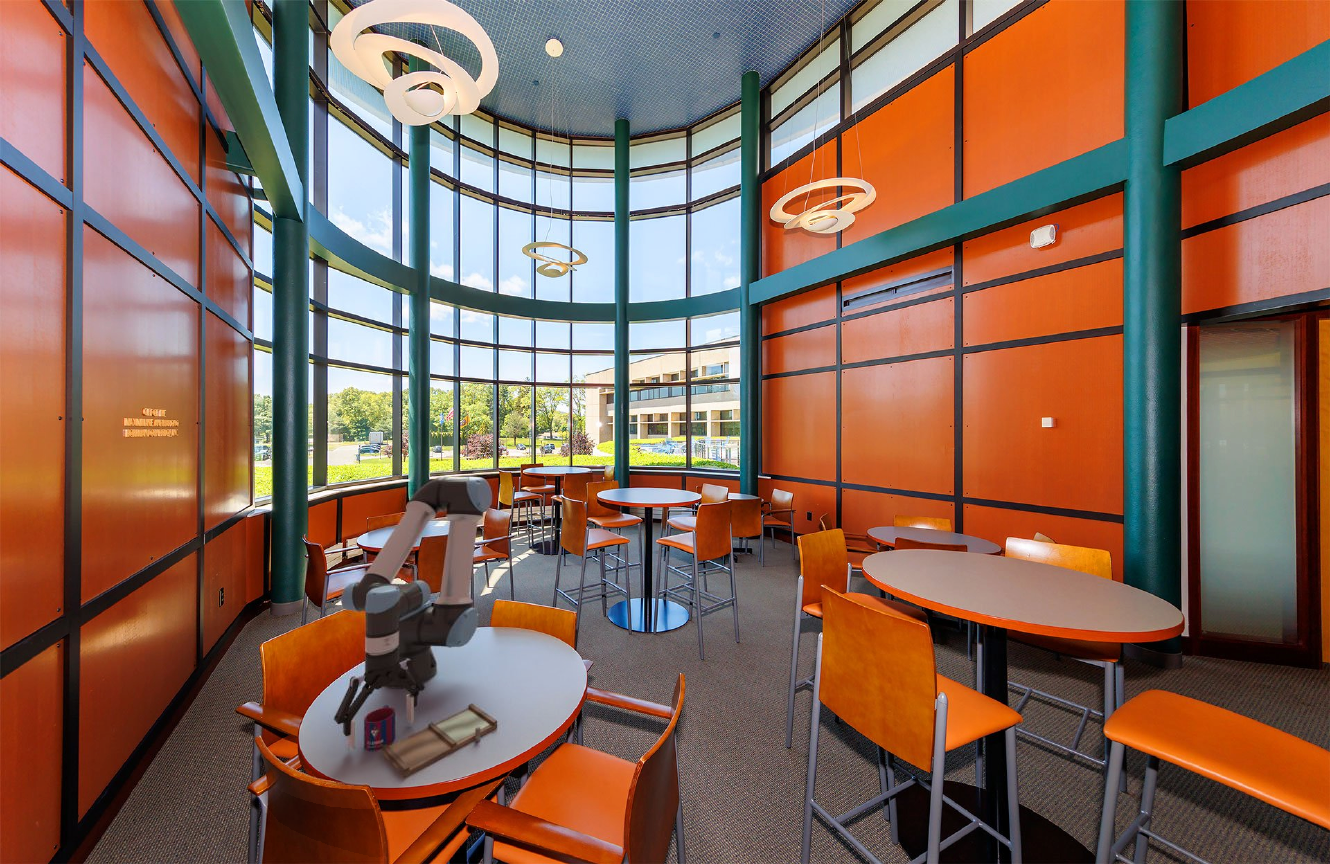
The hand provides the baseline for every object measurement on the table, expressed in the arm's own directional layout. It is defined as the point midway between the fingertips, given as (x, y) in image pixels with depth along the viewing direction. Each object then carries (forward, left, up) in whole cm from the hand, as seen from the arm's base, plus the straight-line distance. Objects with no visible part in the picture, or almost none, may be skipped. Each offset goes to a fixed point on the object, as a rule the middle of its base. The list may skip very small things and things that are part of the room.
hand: (381, 733), depth 118 cm
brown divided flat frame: (+13, +9, -1) cm, 16 cm away
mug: (0, 0, -2) cm, 2 cm away
